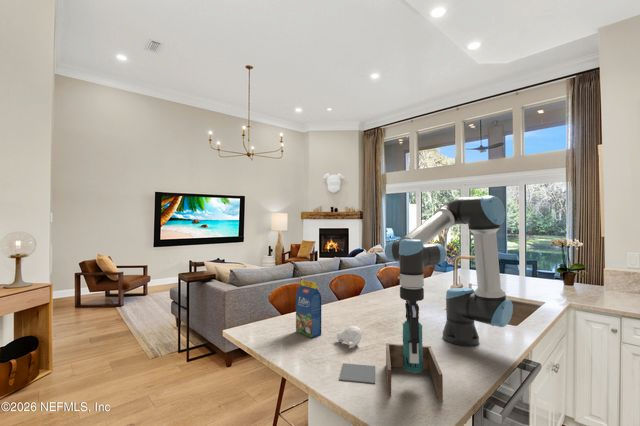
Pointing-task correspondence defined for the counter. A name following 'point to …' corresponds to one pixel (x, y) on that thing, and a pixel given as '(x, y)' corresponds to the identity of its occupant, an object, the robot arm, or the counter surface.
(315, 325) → the blue food package
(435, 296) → the counter surface
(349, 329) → the white crumpled lump
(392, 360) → the wooden u-frame
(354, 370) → the mat
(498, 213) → the robot arm
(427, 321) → the counter surface
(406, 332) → the beverage bottle
